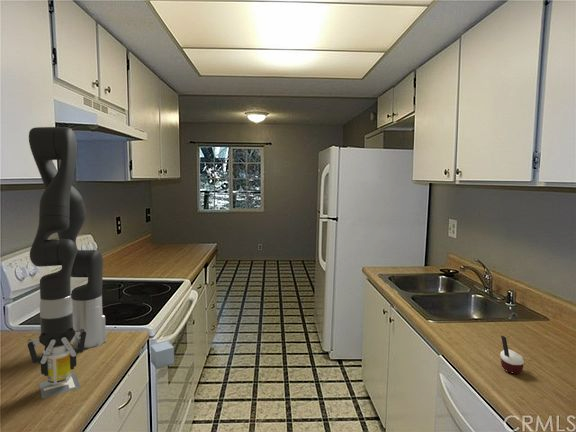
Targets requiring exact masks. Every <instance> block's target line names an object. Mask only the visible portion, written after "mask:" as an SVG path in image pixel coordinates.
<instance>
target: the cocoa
mask: <svg viewBox="0 0 576 432" xmlns="http://www.w3.org/2000/svg"><path fill="white" fill-rule="evenodd" d="M501 342H502V347H503V350H501V351H500V362H501V368H502V367H503V368H504V369H505V370H507V371H509V372H513V373H518V374H519V373H522V372H523V368H524V363H525V360H524V357H523V355H521V354H519V353H517V352H516V351H514V350H512V349H509V347H508V342H507V338H506V336H503V335H501ZM503 368H502V369H503ZM504 369H503V370H504ZM505 370H504V371H505Z"/></svg>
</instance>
